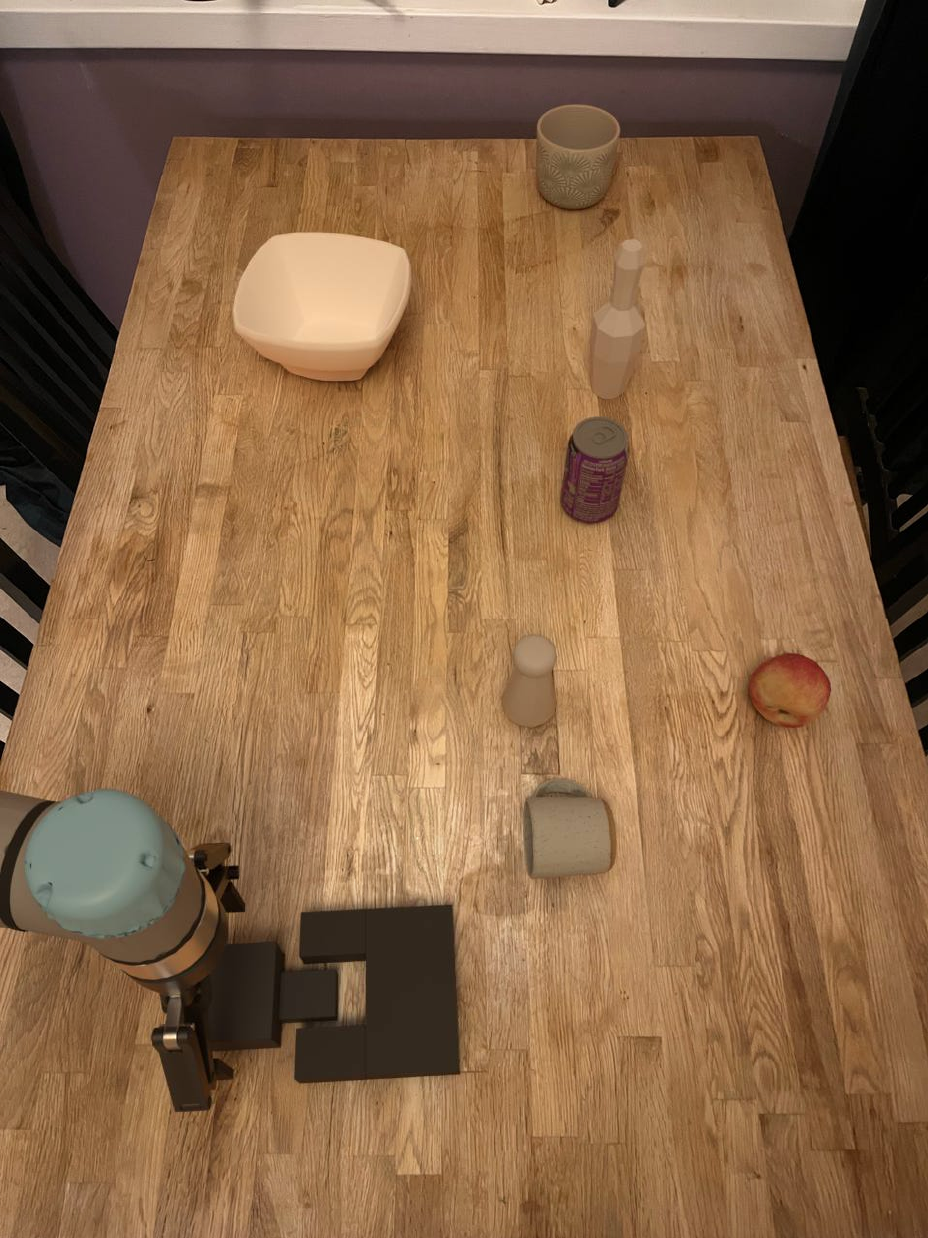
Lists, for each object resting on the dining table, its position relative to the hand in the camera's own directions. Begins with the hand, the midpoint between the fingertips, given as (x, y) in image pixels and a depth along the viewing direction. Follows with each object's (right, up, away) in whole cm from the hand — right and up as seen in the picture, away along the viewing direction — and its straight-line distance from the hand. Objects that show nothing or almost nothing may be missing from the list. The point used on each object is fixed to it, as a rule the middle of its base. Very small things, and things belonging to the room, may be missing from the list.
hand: (223, 988), depth 82 cm
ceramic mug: (+30, +10, +13) cm, 34 cm away
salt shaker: (+27, +22, +21) cm, 41 cm away
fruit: (+54, +22, +21) cm, 62 cm away
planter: (+38, +99, +70) cm, 127 cm away
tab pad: (+3, -3, +5) cm, 6 cm away
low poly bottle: (+40, +63, +47) cm, 88 cm away
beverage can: (+36, +46, +36) cm, 68 cm away
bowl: (+3, +68, +50) cm, 84 cm away
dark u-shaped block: (+13, -2, +5) cm, 14 cm away
